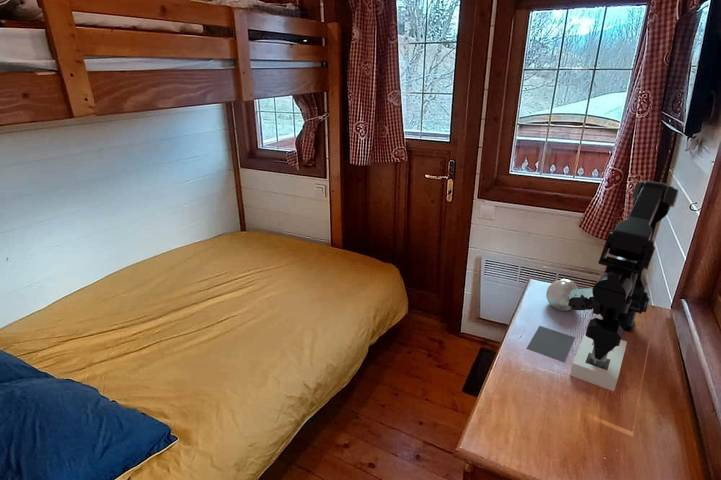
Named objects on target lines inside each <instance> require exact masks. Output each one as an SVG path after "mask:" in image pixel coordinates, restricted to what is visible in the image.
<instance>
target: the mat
mask: <svg viewBox="0 0 721 480" xmlns="http://www.w3.org/2000/svg"><path fill="white" fill-rule="evenodd" d="M575 339H576V337H575V336H573V335H569V334H566V333H563V332H560V331H557V330H555V329H551V328H548V327H545V326H541V325H539V326H538V328H537V329H536V331H535V333H534V334H533V336H532V337H531V339H530V341H529V343H528V345H527V347H526V348H525V350H529V351H531V352H534V353H537V354H539V355H543V356H545V357H549V358H551V359H554V360H557V361H559V362H563V363H566V360H567V358H568V355H569V353H570V351H571V349H572V347H573V344H574V341H575Z"/></svg>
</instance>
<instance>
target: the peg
mask: <svg viewBox="0 0 721 480" xmlns="http://www.w3.org/2000/svg"><path fill="white" fill-rule="evenodd" d="M607 354H608V353H607ZM607 354H606V355H605V356H604V357H603V358H602V359H601V360H599V359H596V358H595V352H594V347H593V351H592V354H591V358H590V362H589V364H590V365H593V366H596V367H599V368H602V369H604V365H605V362H606V358H607Z"/></svg>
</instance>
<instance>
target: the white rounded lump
mask: <svg viewBox="0 0 721 480" xmlns="http://www.w3.org/2000/svg"><path fill="white" fill-rule="evenodd" d="M573 289H579V288H578V286H577V285H576V283H575V282H574V281H572V280H571V279H566V278H563V279H562V278H561V279H559V280H555V281H553V282H551V284H550V285H548V288H547V290H546V294H545V295H546V300H547V303H548V304H549V305H550V306H551V307H552V308H553V309H555V310H557V311H559V312H561V311H562V312H567V311H572V310H571V307H570V306H569V305H568V303H569V297H568V296H569V294H570V292H571V290H573Z"/></svg>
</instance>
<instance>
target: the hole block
mask: <svg viewBox="0 0 721 480" xmlns="http://www.w3.org/2000/svg"><path fill="white" fill-rule="evenodd" d="M586 330H587V328H586ZM586 330H585V331H584V334H583V336H582V340H581V342H580V344H579V346H578V349H577V352H576V353H575V354H576V355H575V357H574V359H573V362H572V363H571V364H572V365H571V369H570V373H569V376H571V377H574V378H576V379H580V380H582V381H584V382H587V383H590V384H593V385H596V386H597V387H602V388H604V389H606V390H609V391H611V392H615V389H616V386H617V383H618V379H619V377H620V371H621V369H622V368H621V367H622V364H623V359H624V355H625V353H626V352H625V351H626V347H627V343H628V341H626V340H624V339H621V341H620V344H619V346H616V347H615V348H613V349H612V350H611V351H610V352H609V353H608V354H607V358H606V362H605V365H604V369H602V368H599V367H596V366H593V365H590V364H589V362H590V358H591V354H592V351H593V347H594V341H593V339H591V338H588V337H587V336H586V335H585V334H586Z"/></svg>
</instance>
